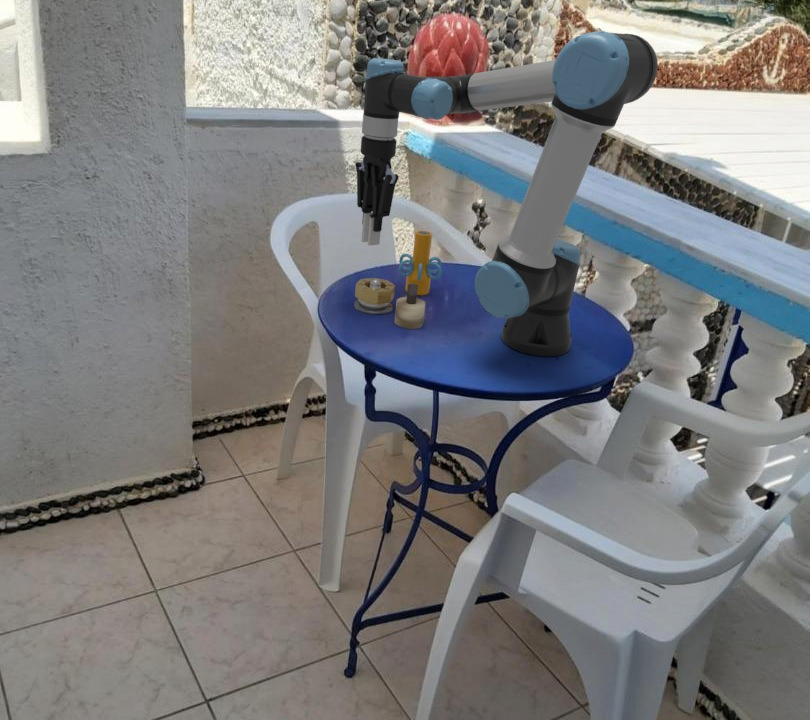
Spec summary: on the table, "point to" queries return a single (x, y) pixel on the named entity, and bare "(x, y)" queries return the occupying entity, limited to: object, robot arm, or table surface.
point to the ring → (374, 291)
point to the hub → (373, 308)
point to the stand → (410, 309)
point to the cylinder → (420, 263)
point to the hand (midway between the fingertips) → (370, 242)
